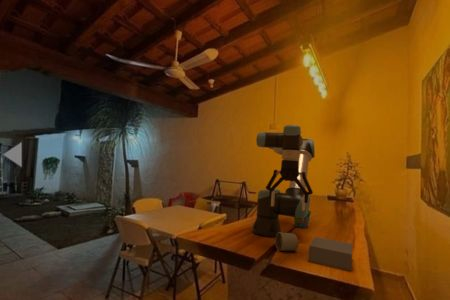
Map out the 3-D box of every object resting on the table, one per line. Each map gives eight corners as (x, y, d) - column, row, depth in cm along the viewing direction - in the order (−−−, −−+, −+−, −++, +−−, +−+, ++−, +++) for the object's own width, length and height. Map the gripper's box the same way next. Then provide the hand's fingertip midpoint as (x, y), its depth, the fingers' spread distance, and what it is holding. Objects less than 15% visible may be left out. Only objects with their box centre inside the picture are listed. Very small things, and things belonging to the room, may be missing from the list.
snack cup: (299, 223, 163) (300, 207, 164) (315, 227, 156) (316, 210, 156) (286, 226, 152) (287, 209, 153) (302, 230, 145) (303, 212, 145)
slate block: (308, 261, 99) (309, 245, 99) (313, 250, 112) (314, 236, 112) (351, 271, 92) (351, 254, 92) (351, 258, 105) (352, 243, 105)
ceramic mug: (299, 253, 107) (300, 234, 108) (281, 253, 105) (282, 234, 106) (287, 245, 117) (288, 228, 118) (271, 245, 116) (272, 228, 116)
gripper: (260, 158, 114) (257, 205, 113) (318, 161, 103) (316, 213, 102) (265, 158, 121) (263, 203, 120) (321, 162, 110) (318, 211, 109)
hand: (287, 208), depth 111 cm, fingers open, 13 cm apart
